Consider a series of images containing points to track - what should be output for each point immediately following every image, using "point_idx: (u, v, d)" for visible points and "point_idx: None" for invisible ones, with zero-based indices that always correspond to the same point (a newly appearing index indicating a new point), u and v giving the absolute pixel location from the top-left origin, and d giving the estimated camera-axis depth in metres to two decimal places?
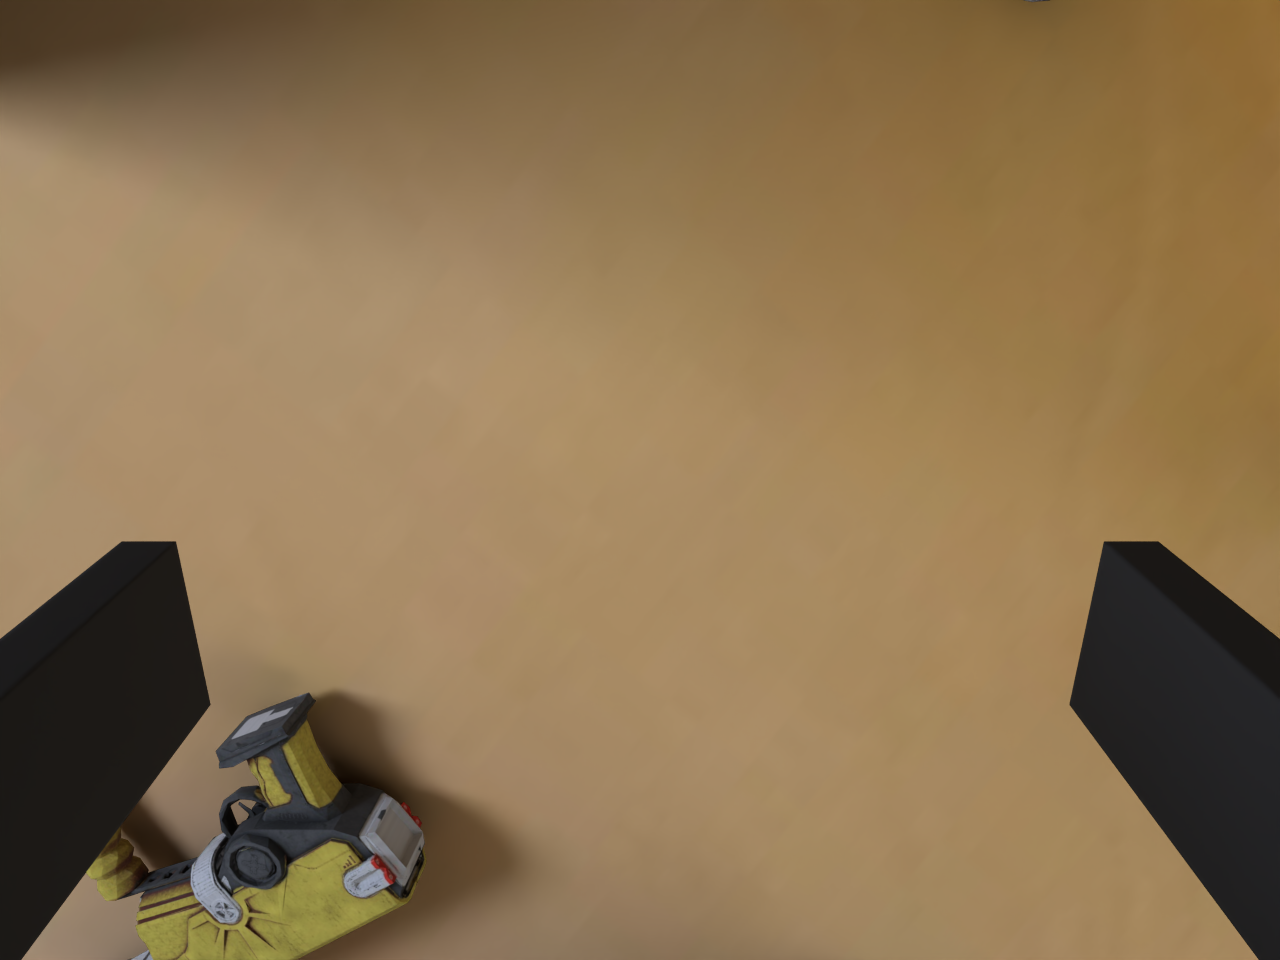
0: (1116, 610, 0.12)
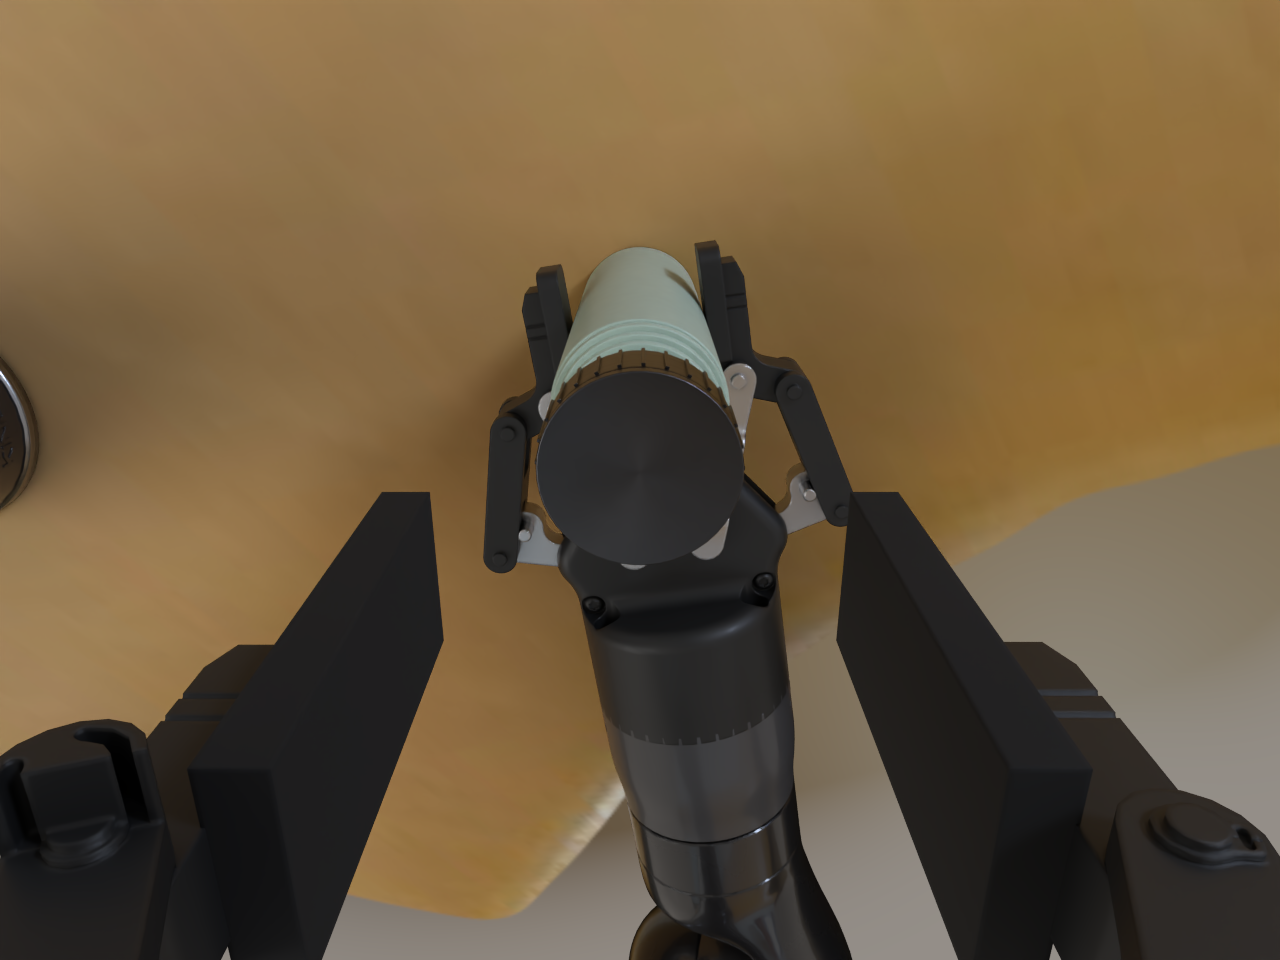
0: (854, 551, 0.14)
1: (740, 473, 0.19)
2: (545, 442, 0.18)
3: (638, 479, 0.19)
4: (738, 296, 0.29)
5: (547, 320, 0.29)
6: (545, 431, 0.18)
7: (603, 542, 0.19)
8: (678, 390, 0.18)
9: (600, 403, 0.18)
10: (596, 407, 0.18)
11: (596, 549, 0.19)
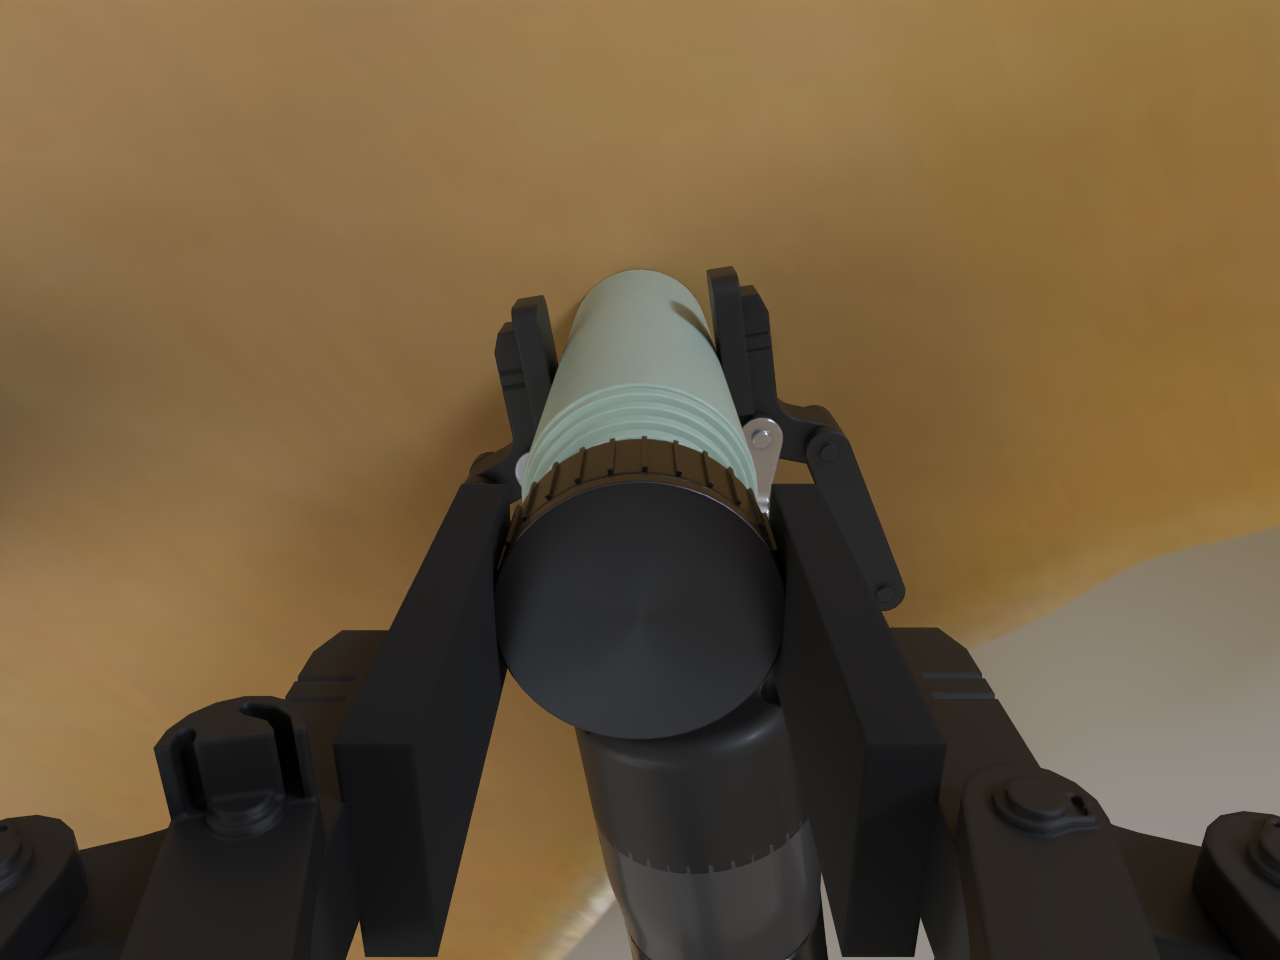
0: None
1: (782, 620, 0.13)
2: (504, 578, 0.13)
3: (637, 627, 0.13)
4: (761, 336, 0.24)
5: (525, 366, 0.23)
6: (504, 563, 0.13)
7: (588, 710, 0.14)
8: (695, 508, 0.12)
9: (582, 525, 0.12)
10: (577, 531, 0.13)
11: (578, 719, 0.14)
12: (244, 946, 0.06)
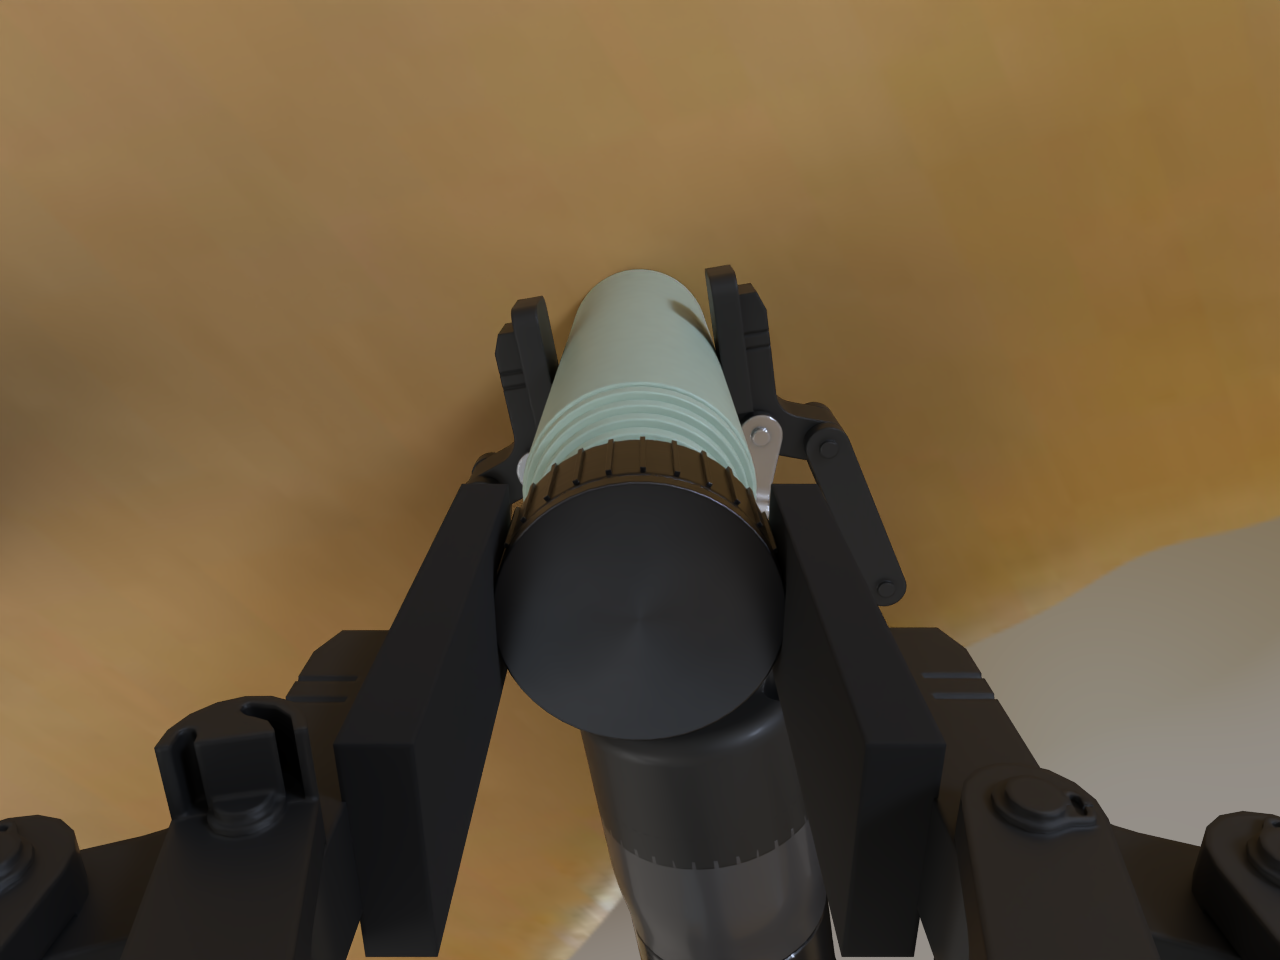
0: None
1: (523, 539, 0.13)
2: (712, 716, 0.14)
3: (647, 613, 0.13)
4: (759, 333, 0.24)
5: (525, 366, 0.24)
6: (702, 727, 0.14)
7: (751, 571, 0.13)
8: (526, 673, 0.13)
9: (620, 714, 0.14)
10: (628, 713, 0.14)
11: (767, 568, 0.13)
12: (245, 946, 0.06)
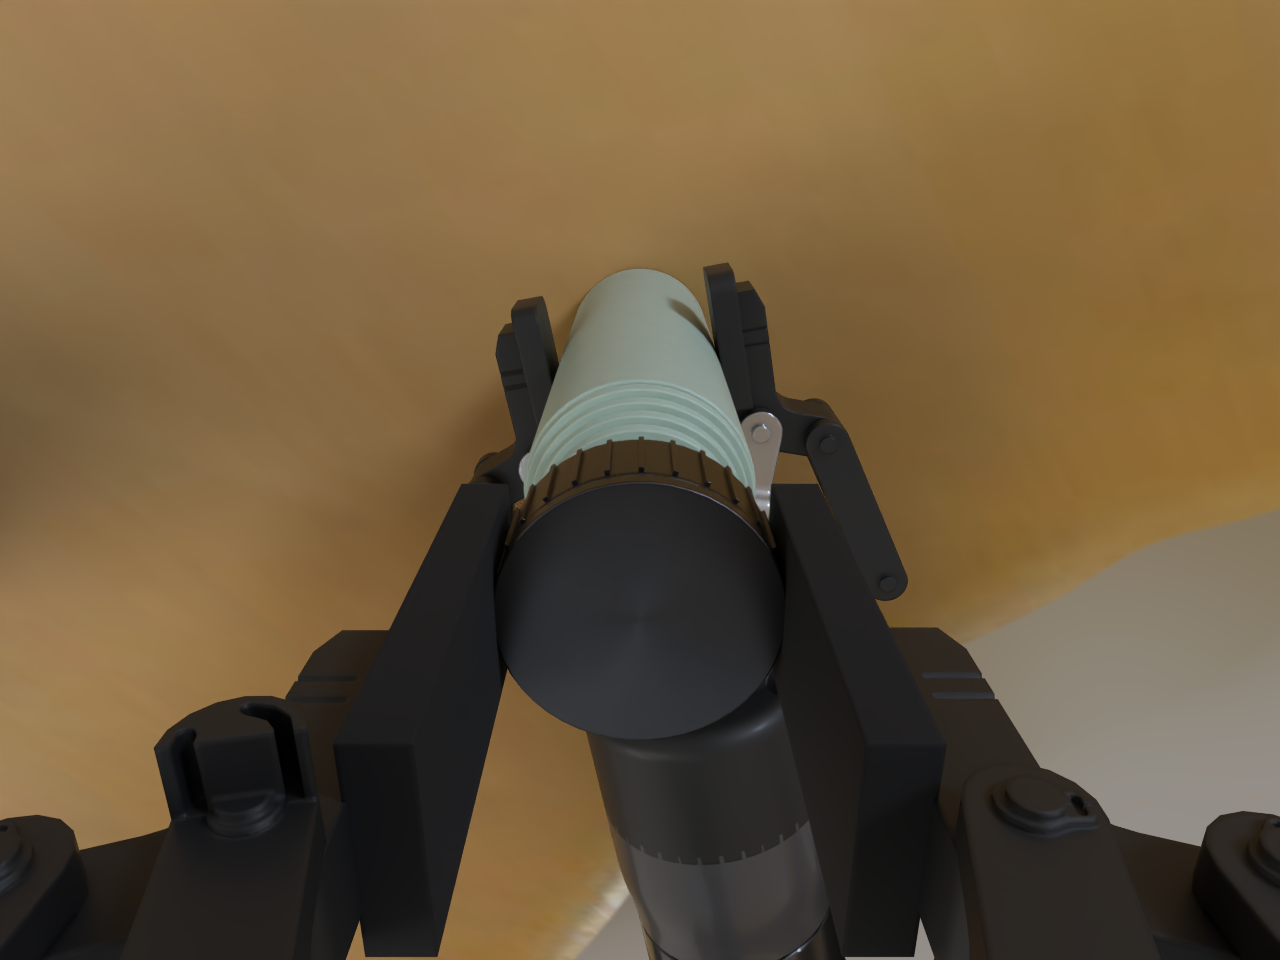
0: None
1: (671, 734, 0.14)
2: (652, 490, 0.12)
3: (628, 619, 0.13)
4: (758, 331, 0.24)
5: (526, 366, 0.24)
6: (669, 487, 0.12)
7: (518, 597, 0.13)
8: (769, 639, 0.13)
9: (728, 549, 0.13)
10: (721, 545, 0.13)
11: (504, 590, 0.13)
12: (245, 946, 0.06)
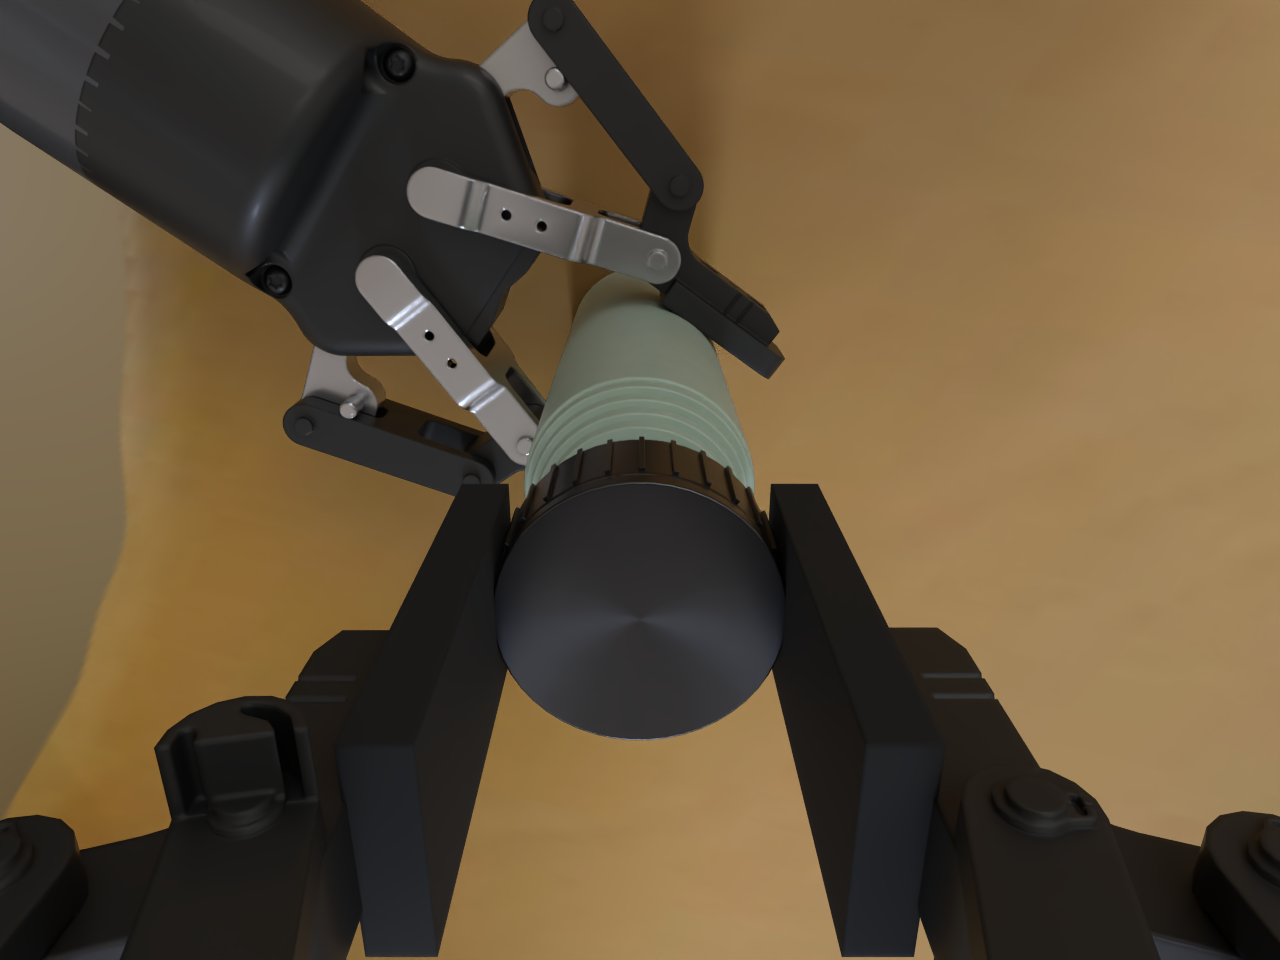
0: None
1: (671, 734, 0.14)
2: (652, 490, 0.12)
3: (628, 619, 0.13)
4: None
5: (741, 334, 0.24)
6: (669, 487, 0.12)
7: (518, 596, 0.13)
8: (769, 639, 0.13)
9: (728, 550, 0.13)
10: (721, 545, 0.13)
11: (504, 590, 0.13)
12: (245, 946, 0.06)
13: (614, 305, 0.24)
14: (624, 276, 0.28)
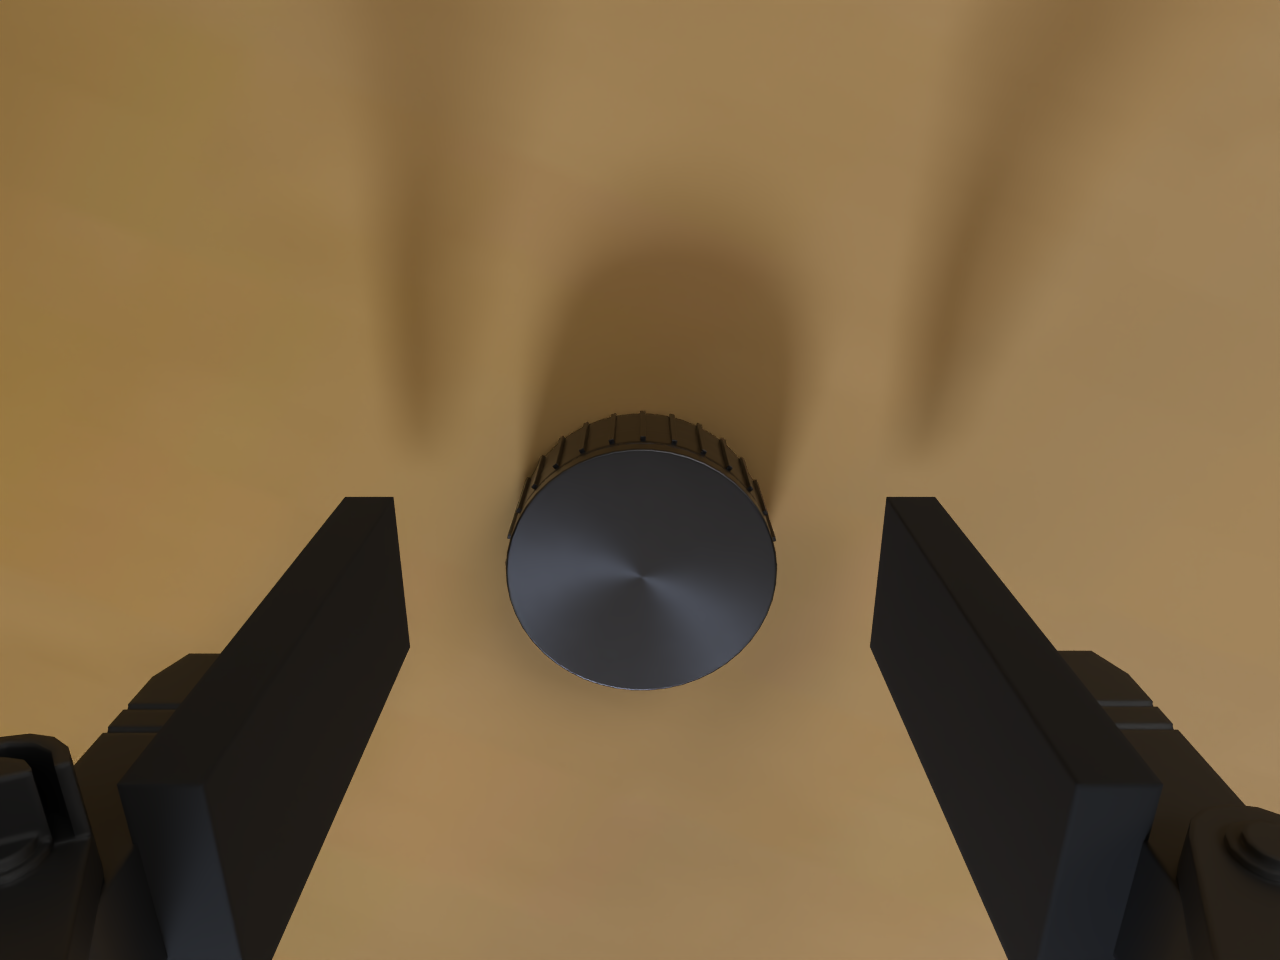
0: (892, 557, 0.13)
1: (670, 684, 0.15)
2: (652, 457, 0.14)
3: (631, 577, 0.14)
4: None
5: None
6: (668, 454, 0.13)
7: (531, 556, 0.14)
8: (759, 595, 0.14)
9: (722, 512, 0.14)
10: (716, 508, 0.14)
11: (518, 549, 0.14)
12: None
13: None
14: None
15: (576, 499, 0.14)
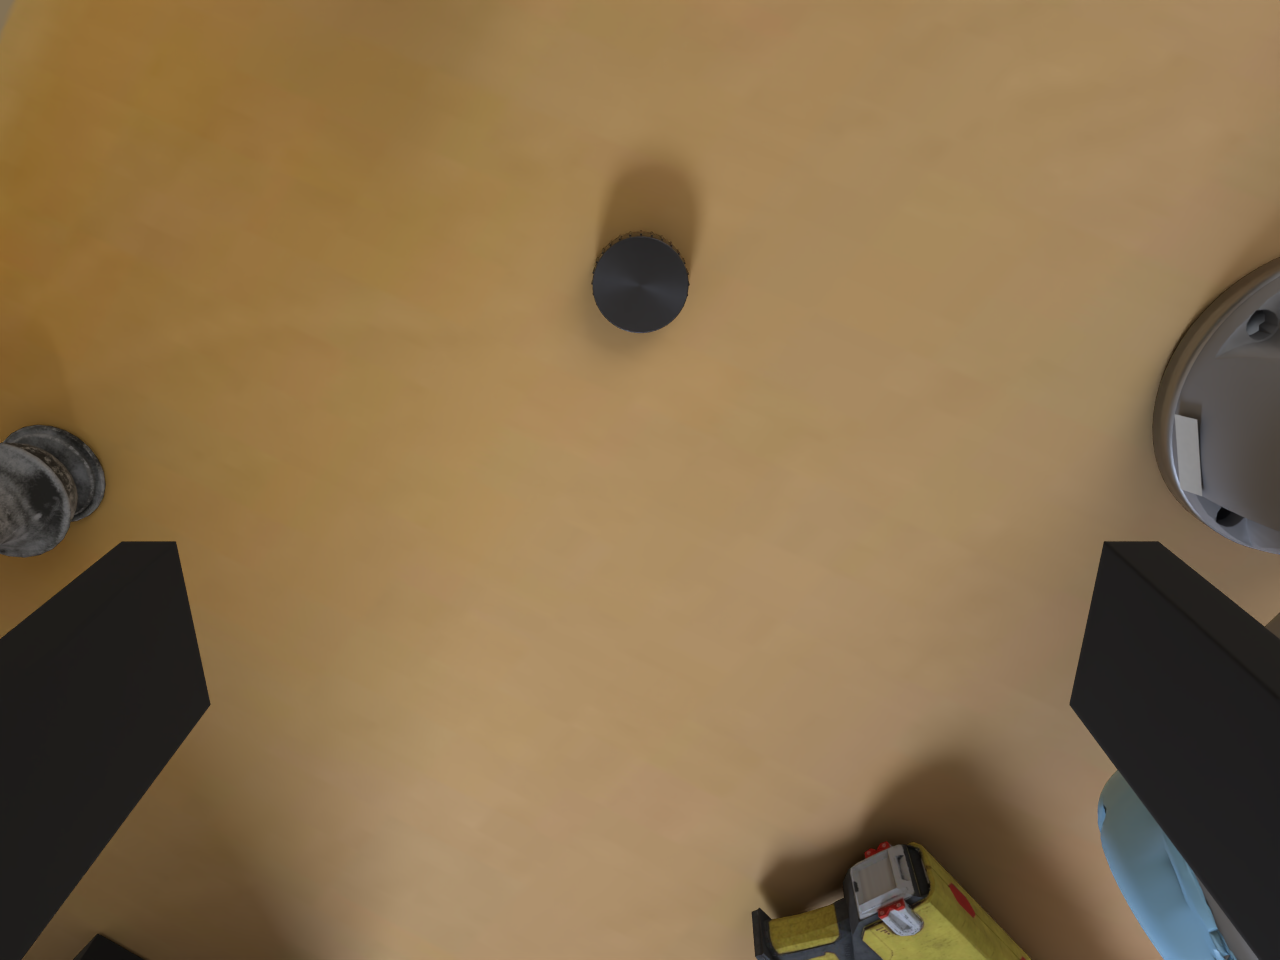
0: (1116, 610, 0.12)
1: (651, 330, 0.41)
2: (644, 239, 0.40)
3: (637, 285, 0.40)
4: None
5: None
6: (649, 238, 0.39)
7: (601, 277, 0.40)
8: (682, 292, 0.40)
9: (668, 260, 0.40)
10: (666, 258, 0.40)
11: (597, 274, 0.40)
12: None
13: None
14: None
15: (618, 255, 0.40)
